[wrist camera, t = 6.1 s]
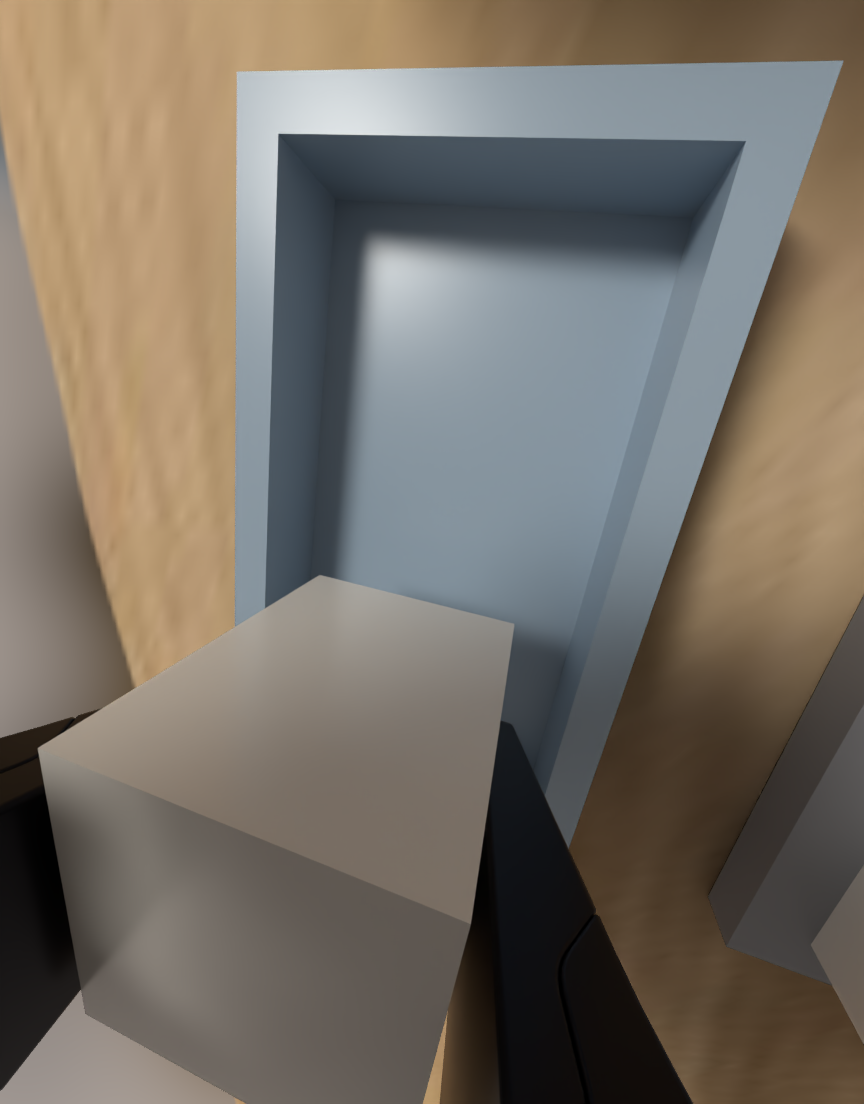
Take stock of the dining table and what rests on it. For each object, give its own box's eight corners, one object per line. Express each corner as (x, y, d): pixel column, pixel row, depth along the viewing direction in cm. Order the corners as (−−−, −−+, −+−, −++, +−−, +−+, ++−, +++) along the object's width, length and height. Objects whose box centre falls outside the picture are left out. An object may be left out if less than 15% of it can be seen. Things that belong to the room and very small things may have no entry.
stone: (475, 789, 9) (399, 1188, 4) (308, 732, 10) (84, 1014, 5) (514, 623, 8) (470, 923, 3) (320, 574, 8) (38, 748, 4)
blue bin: (552, 794, 12) (555, 886, 9) (289, 708, 14) (234, 767, 11) (744, 183, 7) (843, 61, 5) (317, 169, 9) (236, 71, 7)
